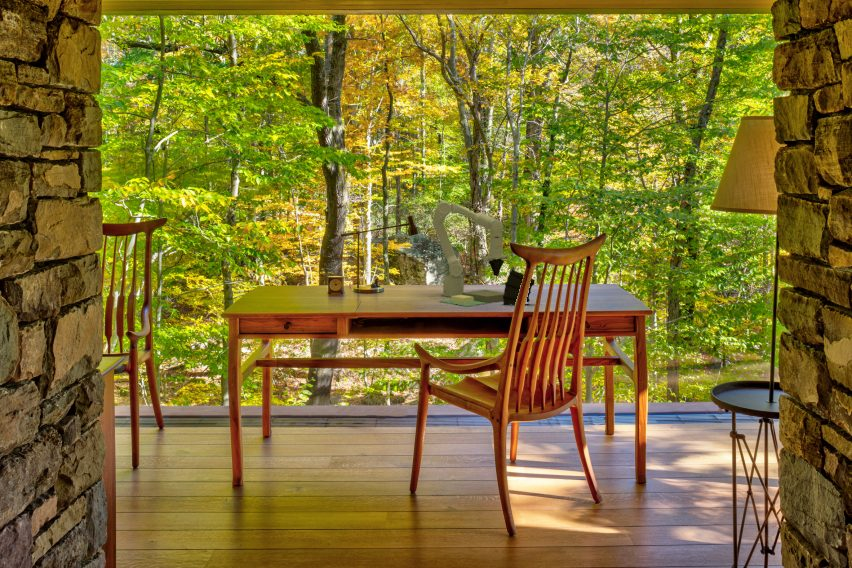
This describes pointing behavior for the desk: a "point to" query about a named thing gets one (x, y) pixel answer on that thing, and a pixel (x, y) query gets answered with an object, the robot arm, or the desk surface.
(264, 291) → the desk surface
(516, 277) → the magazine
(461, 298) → the tile
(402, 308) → the desk surface
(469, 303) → the mat
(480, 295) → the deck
